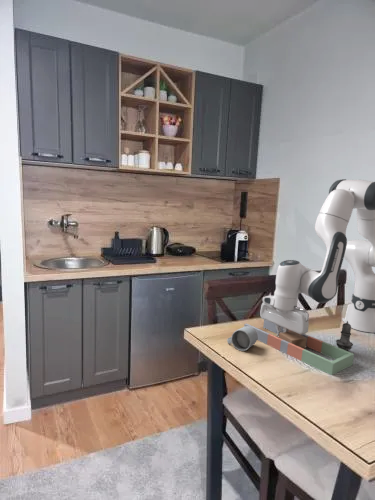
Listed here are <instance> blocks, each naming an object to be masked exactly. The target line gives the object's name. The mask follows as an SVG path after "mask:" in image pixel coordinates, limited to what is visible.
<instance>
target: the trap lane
mask: <svg viewBox="0 0 375 500" xmlns="http://www.w3.org/2000/svg"><path fill="white" fill-rule="evenodd" d="M245 326H250V327H252V328H254V329H255V330H256V332H257V335H258V338H257V341H259V342H261V343H263V344H265V345H267V346H270V347H271V348H274V349H276V350H277V351H280V352H282V353H285V355H288V356H291V357H292V358H295V359H296V360H299V361H301V362H303V363H306V364H307V365H309V366H312V367H314V369H317V370H319V371H322V372H324V373H326V374H328V375H330V376H333V375H335V374H337V373H339V372H341V371H343V370H346V368H349V367H351V366H353V364H354V363H353V362H354V357H355V354H354V353H353V352H351V351H350V352H348V351H346V350H343V349H341V348H338V347H337V345H336V346H335V345H334V344H330V343H329V342H325V341H323V340H321V339H318V338H315V337H313V336H311V335H309V334H307V333H305V334H302V336H304V337H305V338H307V341H306V348H309V349H312V350H314V351H316V352H318V353H321V354H322V355H324V356H327V357H330V358H332V360H330V359H327V358H325V357H323V356H321V355H319V354H316V353H314V352H312V351H309V350H307V349H303V348H301V347H299V346H296V345H294V344H292V343H290V342H287V341H285V340H283V339H281V338H279V336H275V335H274V334H271V333H270V332H272V333H275V334H277V329H276V327H275V326H276V324H274V323H272V322H269V321H267V320H264V319H263V329H265V328H266V329H265V330H267V329H268V331H270V332H267V331H264V330H262V329H260V328H258V327H255V326H253V325H251V324H249V323H244V326H243V327H245ZM281 330H282V332H284V330H283V327H281ZM290 331H291V330H289V331H288V332H290ZM300 335H301V334H300ZM333 359H334V360H333Z"/></svg>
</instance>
